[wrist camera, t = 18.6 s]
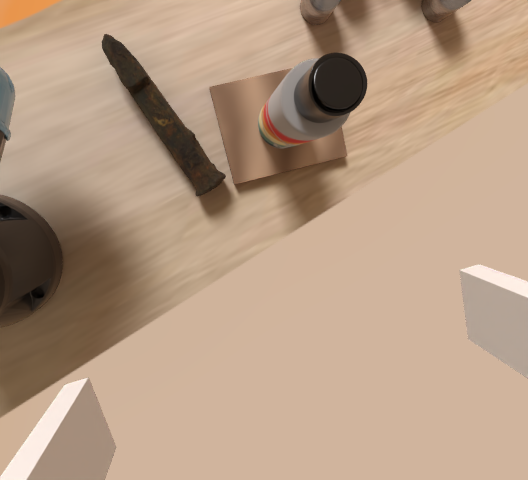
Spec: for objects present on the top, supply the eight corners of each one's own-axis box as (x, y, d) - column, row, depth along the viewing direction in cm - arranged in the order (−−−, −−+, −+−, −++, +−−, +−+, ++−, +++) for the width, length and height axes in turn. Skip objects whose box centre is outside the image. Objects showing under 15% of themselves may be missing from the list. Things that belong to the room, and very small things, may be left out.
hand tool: (226, 179, 43) (228, 180, 39) (198, 197, 43) (197, 199, 39) (132, 29, 39) (122, 10, 34) (101, 48, 39) (87, 32, 34)
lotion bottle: (254, 146, 41) (289, 125, 22) (259, 94, 40) (300, 24, 21) (302, 151, 42) (376, 135, 23) (308, 101, 41) (390, 39, 22)
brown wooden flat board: (234, 184, 43) (234, 184, 42) (209, 89, 41) (209, 87, 40) (343, 156, 44) (347, 156, 43) (326, 62, 42) (329, 59, 41)
